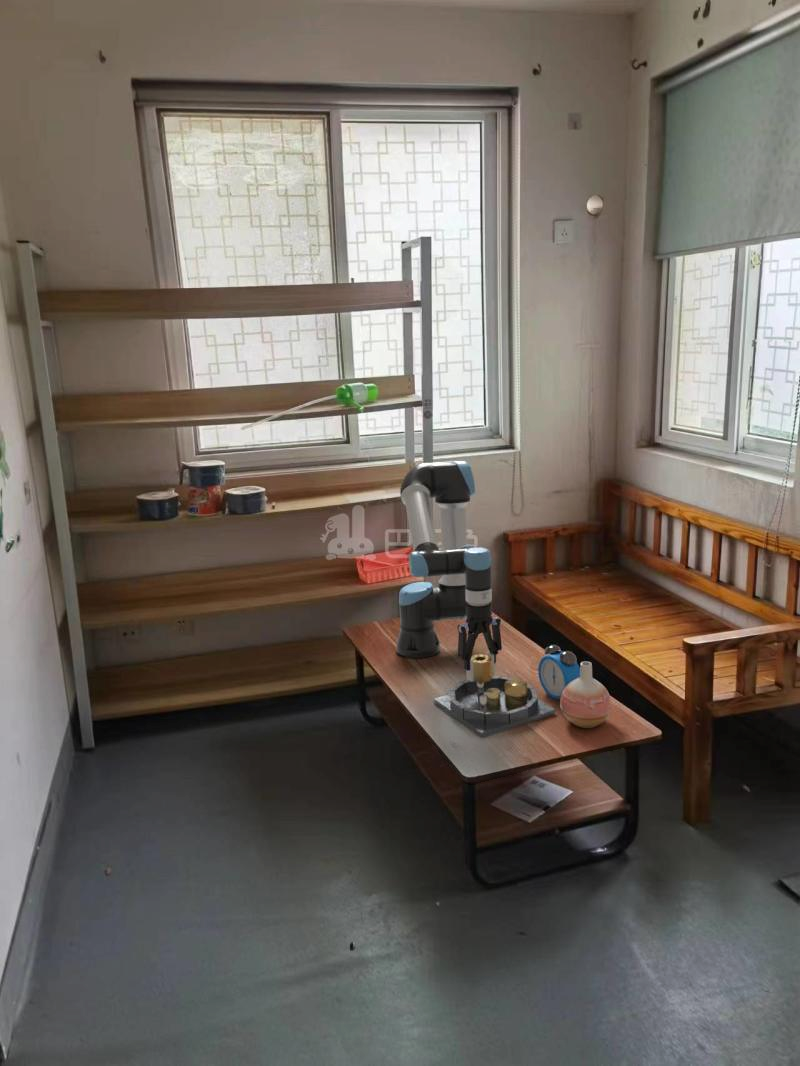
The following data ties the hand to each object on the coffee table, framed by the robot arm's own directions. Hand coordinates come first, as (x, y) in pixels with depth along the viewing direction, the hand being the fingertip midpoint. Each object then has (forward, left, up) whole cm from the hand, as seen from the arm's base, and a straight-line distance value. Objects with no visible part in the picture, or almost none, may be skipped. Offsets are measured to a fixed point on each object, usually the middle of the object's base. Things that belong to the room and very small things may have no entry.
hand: (480, 676), depth 234 cm
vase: (+27, +16, -8) cm, 33 cm away
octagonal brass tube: (0, 0, 0) cm, 0 cm away
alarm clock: (+10, +21, -8) cm, 25 cm away
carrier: (+6, 0, -8) cm, 10 cm away
